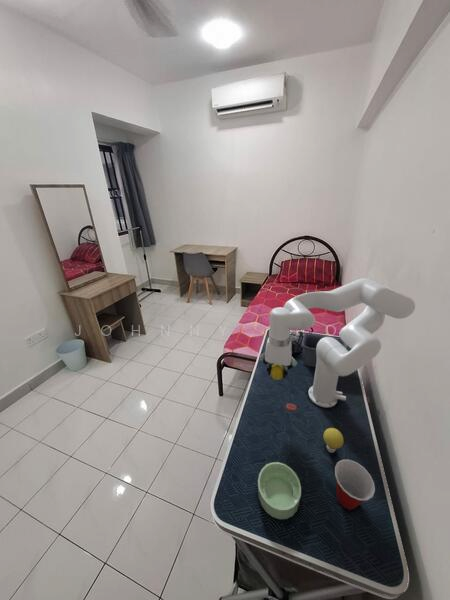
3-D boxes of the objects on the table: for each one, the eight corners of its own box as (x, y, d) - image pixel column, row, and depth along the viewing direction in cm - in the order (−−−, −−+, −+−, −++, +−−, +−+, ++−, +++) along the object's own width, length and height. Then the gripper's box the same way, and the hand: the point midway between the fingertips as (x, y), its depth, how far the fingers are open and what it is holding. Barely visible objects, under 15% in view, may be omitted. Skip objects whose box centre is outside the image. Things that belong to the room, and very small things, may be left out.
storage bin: (298, 367, 129) (301, 345, 123) (302, 350, 142) (304, 329, 135) (342, 377, 121) (347, 354, 115) (342, 358, 134) (346, 337, 127)
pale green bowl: (300, 479, 81) (301, 468, 79) (298, 527, 70) (300, 517, 68) (261, 467, 85) (262, 457, 83) (254, 511, 74) (254, 501, 72)
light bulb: (331, 462, 86) (335, 445, 81) (317, 446, 91) (320, 429, 86) (344, 453, 88) (349, 435, 84) (329, 437, 94) (333, 420, 89)
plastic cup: (371, 524, 70) (381, 503, 65) (332, 516, 72) (338, 495, 67) (360, 483, 79) (368, 461, 74) (326, 476, 82) (331, 455, 76)
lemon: (268, 375, 103) (269, 360, 99) (281, 373, 103) (282, 359, 100) (271, 384, 98) (272, 369, 94) (285, 383, 98) (286, 368, 95)
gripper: (303, 336, 92) (299, 372, 100) (259, 330, 97) (258, 364, 105) (301, 348, 85) (297, 385, 93) (254, 340, 91) (254, 376, 99)
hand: (277, 373), depth 99 cm, fingers closed on lemon, 5 cm apart
